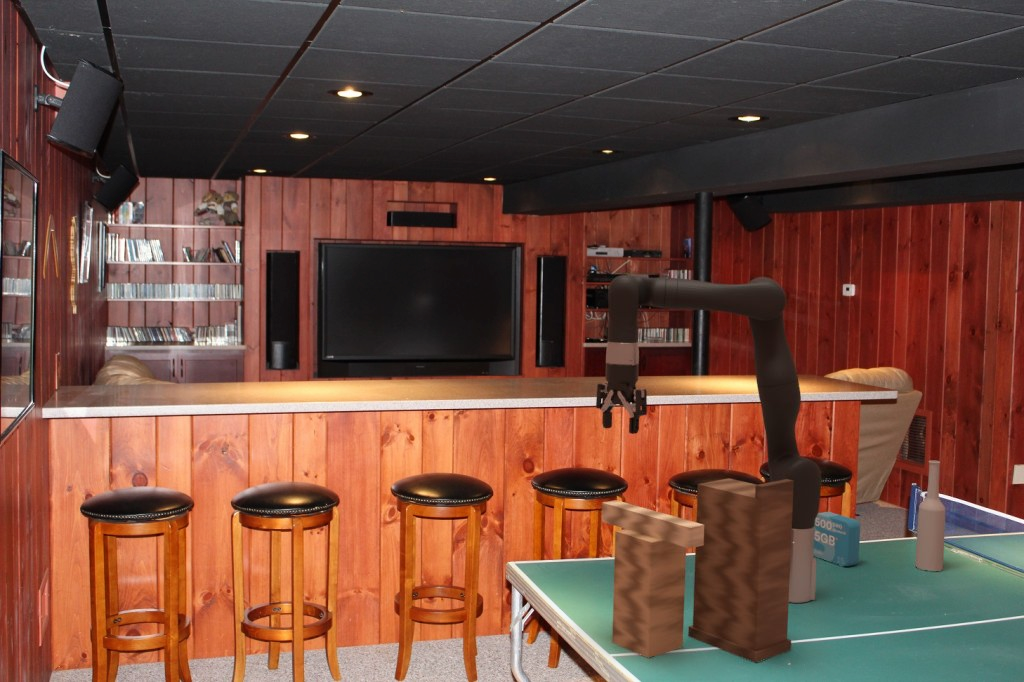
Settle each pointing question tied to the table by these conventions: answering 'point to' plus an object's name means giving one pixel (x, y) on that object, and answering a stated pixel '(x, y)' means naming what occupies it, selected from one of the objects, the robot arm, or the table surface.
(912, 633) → the table surface
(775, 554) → the tall walnut stand
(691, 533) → the brown wooden block
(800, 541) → the robot arm
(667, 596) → the light wooden pillar block
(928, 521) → the bottle
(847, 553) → the data package
